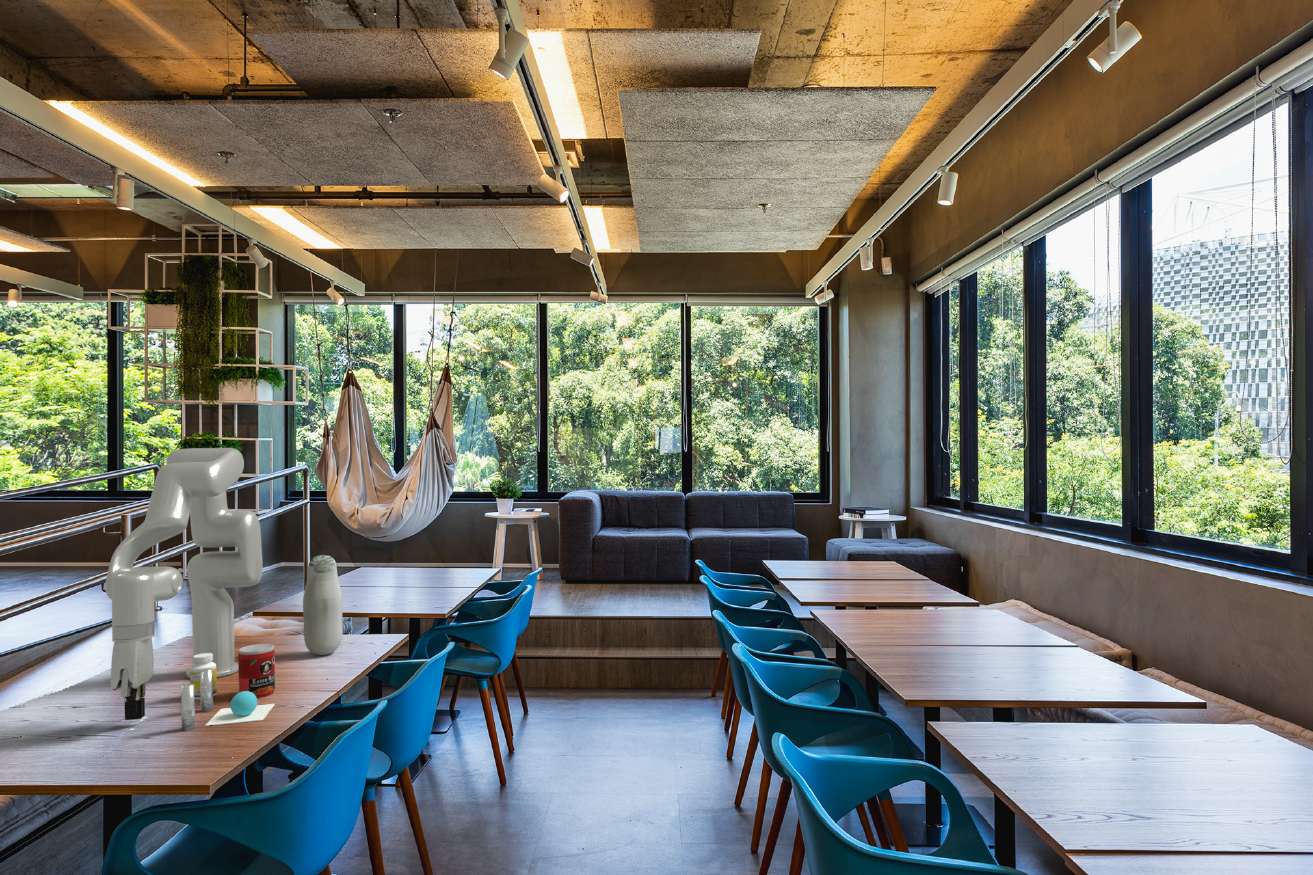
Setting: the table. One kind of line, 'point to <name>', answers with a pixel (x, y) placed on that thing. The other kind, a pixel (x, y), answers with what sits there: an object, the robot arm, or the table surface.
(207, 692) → the post
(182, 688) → the post
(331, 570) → the grey bottle
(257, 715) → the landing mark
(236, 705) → the ball
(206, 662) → the supplement bottle
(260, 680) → the canned food
